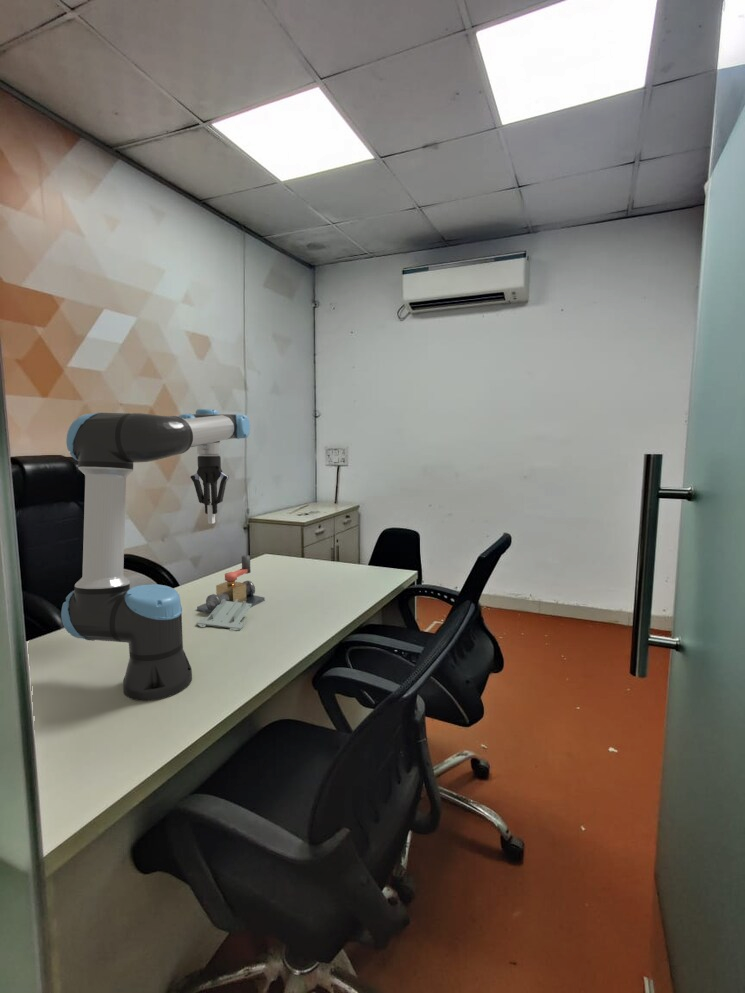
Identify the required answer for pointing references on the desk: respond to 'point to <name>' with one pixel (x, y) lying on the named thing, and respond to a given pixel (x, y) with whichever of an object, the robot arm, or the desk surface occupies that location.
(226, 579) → the lever
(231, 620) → the metal bracket
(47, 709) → the desk surface
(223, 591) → the valve
